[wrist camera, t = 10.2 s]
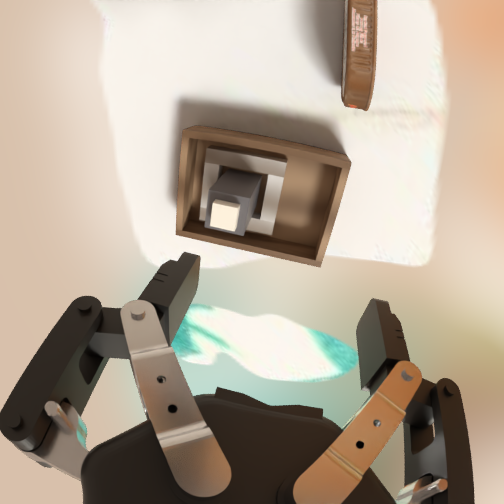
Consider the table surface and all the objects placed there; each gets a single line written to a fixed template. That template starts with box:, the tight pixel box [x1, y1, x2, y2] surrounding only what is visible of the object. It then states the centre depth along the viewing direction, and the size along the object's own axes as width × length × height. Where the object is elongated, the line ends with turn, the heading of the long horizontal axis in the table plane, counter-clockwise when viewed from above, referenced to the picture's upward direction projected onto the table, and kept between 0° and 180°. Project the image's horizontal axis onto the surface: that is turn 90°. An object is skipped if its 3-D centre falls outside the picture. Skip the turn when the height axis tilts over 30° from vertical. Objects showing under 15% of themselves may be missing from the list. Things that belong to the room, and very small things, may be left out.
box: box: [176, 125, 351, 267], centre depth 34 cm, size 13×18×4 cm
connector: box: [205, 169, 262, 236], centre depth 32 cm, size 4×4×9 cm
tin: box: [341, 0, 377, 111], centre depth 22 cm, size 15×3×8 cm, turn 178°
